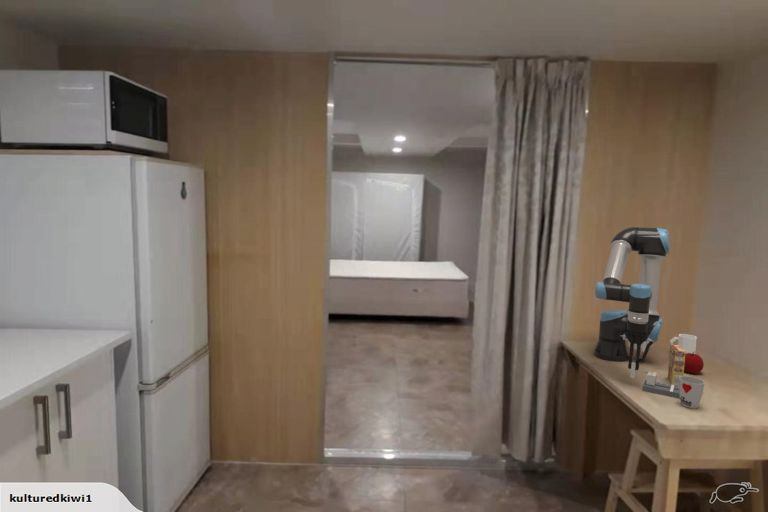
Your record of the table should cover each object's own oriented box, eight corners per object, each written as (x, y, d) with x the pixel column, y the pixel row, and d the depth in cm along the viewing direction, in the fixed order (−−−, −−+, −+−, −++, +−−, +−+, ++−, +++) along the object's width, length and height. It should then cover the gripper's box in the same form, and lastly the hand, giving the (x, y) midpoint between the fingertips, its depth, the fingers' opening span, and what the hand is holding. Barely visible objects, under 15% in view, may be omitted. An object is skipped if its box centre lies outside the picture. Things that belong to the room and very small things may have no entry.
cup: (671, 401, 188) (674, 376, 187) (691, 401, 189) (694, 376, 188) (686, 410, 180) (689, 384, 179) (707, 409, 181) (709, 383, 180)
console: (642, 390, 198) (643, 380, 198) (645, 384, 206) (646, 373, 205) (694, 401, 188) (695, 390, 188) (695, 394, 196) (696, 383, 195)
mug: (691, 353, 252) (693, 334, 251) (698, 358, 244) (700, 339, 242) (666, 350, 255) (667, 332, 253) (671, 355, 246) (673, 336, 245)
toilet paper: (643, 352, 251) (644, 339, 251) (624, 346, 262) (625, 333, 261) (654, 350, 255) (655, 337, 254) (635, 344, 265) (636, 332, 264)
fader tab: (646, 384, 199) (647, 374, 199) (647, 380, 203) (648, 371, 203) (654, 385, 198) (655, 376, 197) (655, 382, 202) (656, 372, 201)
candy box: (683, 386, 204) (686, 351, 202) (671, 385, 205) (675, 349, 204) (677, 379, 212) (680, 345, 211) (666, 378, 214) (669, 344, 212)
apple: (704, 372, 223) (706, 351, 222) (700, 377, 216) (702, 355, 215) (681, 367, 229) (683, 346, 228) (676, 371, 222) (678, 350, 221)
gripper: (618, 320, 202) (614, 375, 205) (654, 326, 195) (649, 383, 197) (621, 317, 208) (617, 371, 211) (656, 322, 201) (651, 377, 204)
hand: (632, 376), depth 204 cm, fingers closed
